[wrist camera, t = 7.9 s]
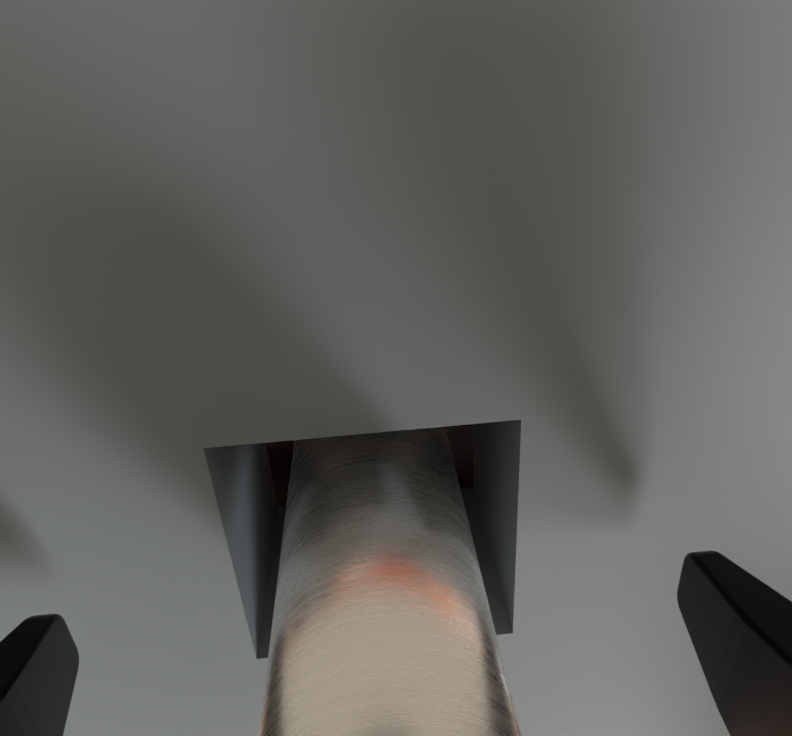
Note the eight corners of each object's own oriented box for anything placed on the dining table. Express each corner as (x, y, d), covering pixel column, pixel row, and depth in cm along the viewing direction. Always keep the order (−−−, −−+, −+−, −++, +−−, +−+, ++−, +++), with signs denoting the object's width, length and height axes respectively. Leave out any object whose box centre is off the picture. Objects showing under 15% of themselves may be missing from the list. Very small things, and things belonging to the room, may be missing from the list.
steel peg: (437, 344, 13) (579, 850, 5) (440, 463, 14) (556, 1000, 7) (288, 357, 13) (199, 891, 5) (307, 475, 14) (261, 1034, 6)
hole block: (1020, -73, 10) (1377, -121, 7) (785, 620, 18) (893, 767, 14) (-422, 24, 9) (-876, 27, 6) (-19, 702, 17) (-112, 877, 14)
